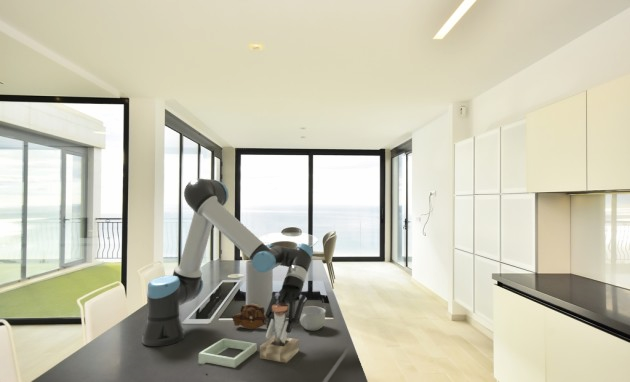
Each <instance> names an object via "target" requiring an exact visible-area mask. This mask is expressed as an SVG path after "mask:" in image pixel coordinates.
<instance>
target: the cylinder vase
mask: <svg viewBox="0 0 630 382" xmlns="http://www.w3.org/2000/svg"><path fill="white" fill-rule="evenodd" d="M273 269H274V268H273ZM273 269H272V270H271V271H268V272H264V273H262V272H258V271H257V270H255V269H254V267H253V264H252V260H251V259H249V260H246V261H245V306H246V305H248V304H256V305H259V306H261V307H264V309H265V312H264V315H265V314H266V312H267V309H268V306H269V304H270V301H271V298H272V292H274V290H273V289H274V288H273V286H274V285H273V284H274V282H273V279H274V277H273V276H274V275H273V272H274V271H273Z"/></svg>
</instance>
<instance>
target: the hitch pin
mask: <svg viewBox="0 0 630 382" xmlns="http://www.w3.org/2000/svg"><path fill="white" fill-rule="evenodd" d="M272 312H274V330H273V336H274V345H277V346H284V345H286V340H285V343H282V341H281V340H280V338H281V335H282V332H283V328H284V325H285V322H286V321H287V312H289V305H288V304H278V303H276V304H274V305H272Z"/></svg>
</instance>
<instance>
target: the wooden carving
mask: <svg viewBox="0 0 630 382" xmlns="http://www.w3.org/2000/svg"><path fill="white" fill-rule="evenodd" d="M240 312H241V313H240ZM240 312H239V313H236V314H233V315H232V316H231V319H232V321H233V324H234V326H235V327H239V326H241V327H242V328H245V329H249V330H255V329H259V328H261V327H263V326H265V325H267V322H266V321H268V319H267V318H266V316H265V315H264V312H265V309H264V307H261V306H259V305H256V304H248V305H246V304H243V305H241V308H240Z"/></svg>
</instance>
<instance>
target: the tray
mask: <svg viewBox="0 0 630 382" xmlns="http://www.w3.org/2000/svg"><path fill="white" fill-rule="evenodd" d="M257 347H258V343H256V342H249V341H244V340H236V339H231V338H225V337H223V338H222V339H220V340H218V341H216V342H215V343H213V344H211V345H210V346H208V347H207V348H205V349H202V351H200V352H199V353H198V365H204V364H206V363H207V364H214V365H217V366H224V367H229V368H234V369H236V368H237V367H238V366H239V365H240V364H241V363H243V362H245V361H246V360H247V359H248V358H250V357H251V355H253V354H255V353H256V352H257V351H258V348H257ZM229 348H231V349H238V350H242V352H239V354H237V355H235V356H234V357H230V356H225V355H220V354H221V353H222V352H224V351H226V350H227V349H229Z"/></svg>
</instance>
